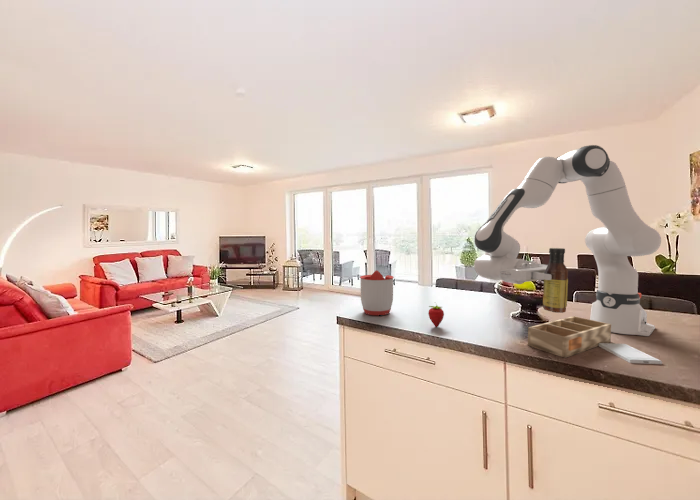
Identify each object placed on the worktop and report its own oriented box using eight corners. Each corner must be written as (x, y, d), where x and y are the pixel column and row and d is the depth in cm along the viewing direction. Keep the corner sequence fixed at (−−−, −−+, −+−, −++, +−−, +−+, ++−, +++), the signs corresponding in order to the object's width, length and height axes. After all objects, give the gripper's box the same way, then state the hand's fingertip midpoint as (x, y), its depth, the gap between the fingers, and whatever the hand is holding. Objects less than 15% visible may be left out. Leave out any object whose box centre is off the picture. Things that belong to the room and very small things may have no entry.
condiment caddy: (573, 332, 109) (573, 316, 109) (612, 342, 99) (613, 324, 98) (527, 345, 97) (528, 327, 96) (566, 358, 86) (567, 338, 86)
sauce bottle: (551, 307, 97) (555, 247, 96) (571, 312, 91) (575, 248, 90) (537, 308, 95) (541, 247, 94) (556, 314, 89) (560, 248, 88)
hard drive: (598, 342, 95) (630, 359, 83) (626, 343, 94) (662, 360, 82) (598, 347, 96) (629, 364, 83) (626, 348, 95) (662, 366, 82)
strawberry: (428, 329, 113) (428, 303, 113) (428, 323, 121) (428, 299, 120) (444, 330, 112) (444, 304, 111) (443, 324, 119) (443, 300, 118)
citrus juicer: (398, 309, 143) (398, 268, 142) (388, 319, 127) (388, 273, 126) (368, 306, 150) (368, 267, 148) (354, 315, 134) (354, 271, 133)
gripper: (497, 263, 99) (539, 268, 87) (534, 261, 108) (577, 264, 96) (496, 282, 100) (538, 289, 87) (533, 278, 109) (576, 284, 96)
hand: (559, 276), depth 92 cm, fingers closed on sauce bottle, 6 cm apart
